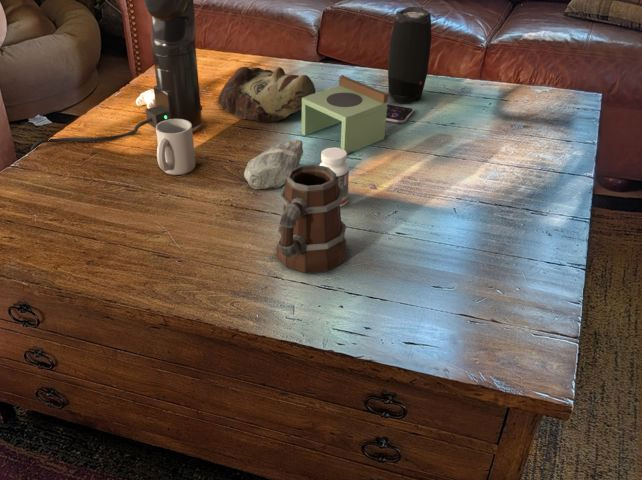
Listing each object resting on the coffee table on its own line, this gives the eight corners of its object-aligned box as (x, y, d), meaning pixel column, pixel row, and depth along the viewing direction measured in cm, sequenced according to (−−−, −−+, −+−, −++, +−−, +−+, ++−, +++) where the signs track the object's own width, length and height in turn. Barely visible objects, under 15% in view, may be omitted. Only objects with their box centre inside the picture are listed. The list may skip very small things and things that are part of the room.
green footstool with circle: (344, 155, 154) (346, 109, 147) (301, 133, 162) (301, 89, 156) (384, 138, 159) (388, 93, 153) (341, 119, 168) (343, 75, 161)
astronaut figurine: (128, 103, 177) (127, 90, 175) (165, 88, 184) (164, 76, 182) (152, 112, 173) (151, 99, 171) (189, 96, 180) (188, 84, 177)
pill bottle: (350, 196, 141) (353, 148, 134) (343, 210, 137) (345, 162, 130) (322, 192, 142) (323, 144, 135) (314, 206, 138) (314, 157, 131)
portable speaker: (430, 101, 174) (441, 15, 161) (393, 106, 172) (401, 19, 159) (415, 88, 180) (424, 4, 167) (380, 93, 178) (386, 8, 165)
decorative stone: (290, 194, 142) (290, 166, 138) (240, 190, 144) (238, 162, 140) (303, 164, 151) (303, 137, 147) (256, 160, 153) (254, 133, 149)
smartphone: (354, 98, 174) (414, 108, 169) (354, 100, 175) (414, 111, 170) (342, 110, 170) (403, 121, 164) (342, 112, 170) (403, 123, 165)
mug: (296, 230, 132) (296, 152, 122) (357, 247, 127) (362, 168, 117) (252, 274, 122) (248, 193, 112) (316, 294, 117) (318, 212, 107)
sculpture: (281, 88, 157) (198, 64, 169) (282, 131, 163) (202, 105, 175) (338, 61, 169) (256, 41, 181) (336, 102, 175) (258, 80, 187)
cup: (202, 163, 153) (198, 122, 147) (177, 184, 146) (171, 142, 140) (173, 157, 155) (168, 116, 149) (147, 177, 148) (140, 135, 142)
